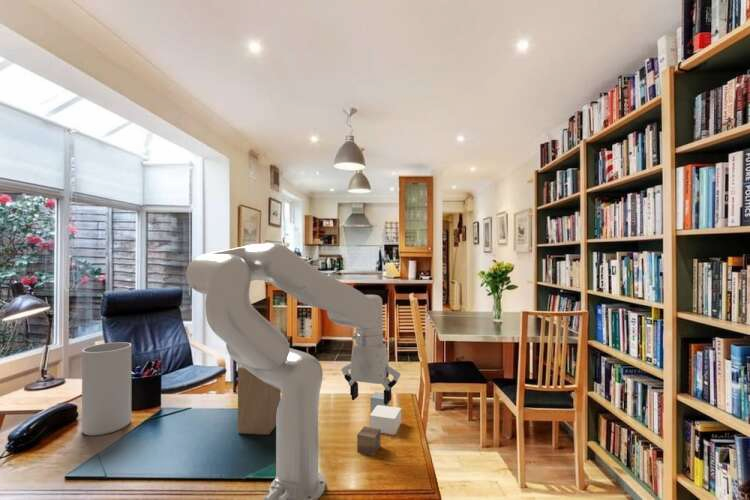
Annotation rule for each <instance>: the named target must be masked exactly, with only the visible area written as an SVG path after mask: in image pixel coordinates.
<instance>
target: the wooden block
mask: <svg viewBox="0 0 750 500" xmlns="http://www.w3.org/2000/svg"><path fill="white" fill-rule="evenodd" d="M281 396H282V392H281V390H279V389H277V388H275V387H273V386H271V385H269V384H267V383H265V382H263V381H262V380H260V379H259V378H258V377H256V376H255V375H253V374H252V373H251V372H249V371H248V370H247V369H245V368H244V367H243V366H241V365H240V366H238V369H237V433H238V434H245V435H246V434H248V435H264V436H266V435H267V436H268V435H270V434H271V433H272V431H273V430H274V429H276V428H275V427H276V413H277V408H278V405H279V402H280V399H281Z"/></svg>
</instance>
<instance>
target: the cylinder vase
mask: <svg viewBox="0 0 750 500" xmlns="http://www.w3.org/2000/svg"><path fill="white" fill-rule="evenodd" d="M132 349H133V348H132V343H131V342H126V341H125V342H124V341H123V342H121V341H119V342H107V343H100V344H99V343H98V344H95V345H91V346H87V347H85V348H83V349H82V350H81V353H82V354H81V432H82V433H83V434H84V435H87V436H92V437H93V436H104V435H106V434H112V433H114V432H117V431H120V430H122V429H123V428H126V427H127V426H128V425H129V424H130V423H131V421H132V358H133V357H132Z"/></svg>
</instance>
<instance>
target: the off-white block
mask: <svg viewBox="0 0 750 500" xmlns="http://www.w3.org/2000/svg"><path fill="white" fill-rule="evenodd" d="M401 424H402V408H401V407H395V406H390V405H389V406H382V405H377V406H376V407H375V409H374V410H373V411H372V412H371V413H370V414H369V427H372V428H377V429H381V434H385V435H393V436H395V435H396V433H397V432H398V430H399V428H400V426H401Z"/></svg>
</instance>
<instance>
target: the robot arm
mask: <svg viewBox="0 0 750 500" xmlns="http://www.w3.org/2000/svg"><path fill="white" fill-rule="evenodd" d="M185 273H186V274H185V276H186V281H187V284H188V285H189V286H190V287H191V289H192V290H194V291H196V292H197V293H199V294H202V295H203V294H204V295H206V296H205V301H204V302H205V304H204V305H205V316H206V321H207V324H208V326H209V328H210V329H211V330H212V332H213V333H214V334H215V335H216V336H217V337H218V338H219V339H220V340H222V341H223V342H224V343H225V346H226V351H227V353H228V355H229V356H230V358H231V359H232V360H234V361H235V362H236V363H237V364H239V365H240V366H243V367H244V368H245V369H247V370H248V371H249V372H251V373H252V374H253V375H255V376H256V377H258V378H259V379H260V380H262V381H263V382H265V383H267V384H269V385H271V386H273V387H275V388H277V389H279V390H281V399H280V402H279V405H278V408H277V413H276V426H275V427H276V428H275V439H276V440H275V447H276V448H275V452H276V453H275V456H276V457H275V460H276V461H275V463H276V464H275V469H276V470H275V479H273V480H272V481H271V482H270V485H269V488H268V494H267V495H266V496H264V498H263V500H319V498H321V497H322V496H323V494H324V493H325V490H326V479H325V478H324V476H323V474H321V473H319V404H320V403H319V401H320V391H321V387H322V382H323V376H324V375H323V368H322V365H321V363H320V361H319V360H318V358H317V357H315V356H314V355H311V354H310V353H308V352H305V351H302V350H298V349H296V348H295V349H294V348H292V347H290V344H289V340H288V339H287V337H286V336H285V334H284V333H283V332H282V331H281V330H280V329H279V328H277V327H276V326H275V325H273V324H272V323H271V321H269V320H268V319H267V318H265V316H264V315H262V314H261V313H260V312H259V311H258V310H257V308H255V307H254V306H253V304H252V303H251V300H250V288H251V282H252V281H265V282H267V283H269V284H272V285H273V286H274V287H275V288H277V289H279V290H281V291H283V292H284V293H287V295H288V296H291V297H292V298H294V299H296V300H297V301H298V302H301V303H302V304H305V305H308V306H309V307H313V308H316V309H320V310H324V311H327V313H326V314H327V317H328V319H329V320H330V321H331V322H332V323H333V324H335V325H338V326H343V327H347V328H354V329H355V334H354V333H352V334H351V339H352V340H355V343H354V344H353V345H352V349H351V358H350V363H349V364H347V365H345V366H343V367H342V368H341V372H342V374H343V376H344V379H345V380H346V381H347V382H348V386H350V387H349V388H350V396H351V401H354V400H356V399H357V398H358V397H359V383H358V382H360V383H367V384H368V383H369V384H376V385H382V386H383V387H384V390H383V393H384V404H385V405H387V404H388V403H389V404H390V402H391V401H392V388H393V387H394V386H395V385H396V384H397V383H398V381H399V379H400V377H401V373H400V372H399V371H397V370H396V369H394V367H391V366H390V365H389V357H388V356H389V355H388V352H387V351H388V350H387V346H386V344H385V343H384V331H383V330H384V327H383V326H384V325H383V324H384V321H383V320H384V319H383V318H384V317H383V298H382V297H381V296H380V295H377V294H364V293H362V292H361V291H360V290H358V289H356V288H355V287H354V286H351V285H349V284H347V283H345V282H343V281H340V280H338V279H336V278H335V277H333V276H330V275H328V274H326V273H324V272H322V271H320V270H319V269H318V268H316V267H315V266H313V265H312V264H310V263H309V262H308V261H306V260H305V259H304V258H302V257H301V256H300V255H298V254H297V253H296V252H294V251H293V250H291V249H290V248H288V247H287V246H286V245H283V244H281V243H275V242H270V243H269V242H268V243H253V244H248V245H245V246H240V247H235V248H234V247H233V248H230V249H224V250H219V251H214V252H209V253H203V254H200V255H198V256H196V257H195V258H193V259H192V261H190V263H189V265H188V266H187V269H186V272H185ZM349 370H350V371H349ZM390 375H391V376H392V377H393V378H392V380H390V379H389V378H390V377H389V376H390Z"/></svg>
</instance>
